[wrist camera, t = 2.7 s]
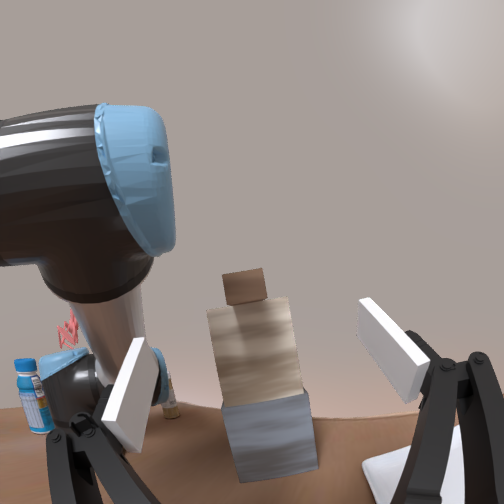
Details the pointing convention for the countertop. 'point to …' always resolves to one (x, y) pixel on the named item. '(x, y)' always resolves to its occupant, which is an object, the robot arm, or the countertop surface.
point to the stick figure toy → (72, 329)
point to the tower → (262, 390)
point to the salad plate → (392, 464)
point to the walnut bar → (244, 287)
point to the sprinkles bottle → (170, 403)
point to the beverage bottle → (33, 397)
